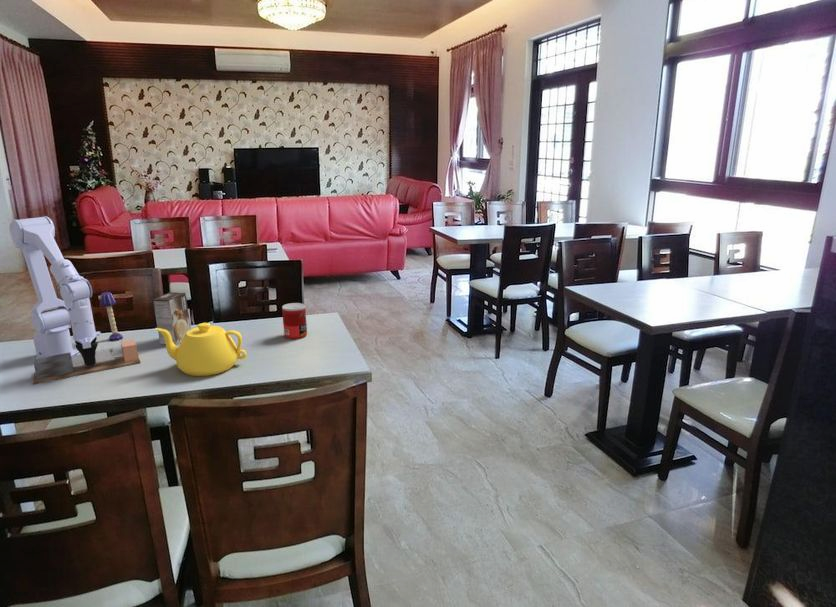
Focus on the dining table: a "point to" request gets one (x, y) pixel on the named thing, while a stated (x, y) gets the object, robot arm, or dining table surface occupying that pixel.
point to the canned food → (294, 320)
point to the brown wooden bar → (70, 367)
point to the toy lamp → (110, 314)
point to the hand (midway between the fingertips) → (90, 363)
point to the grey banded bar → (99, 357)
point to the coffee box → (172, 315)
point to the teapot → (205, 350)
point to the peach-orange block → (129, 351)
